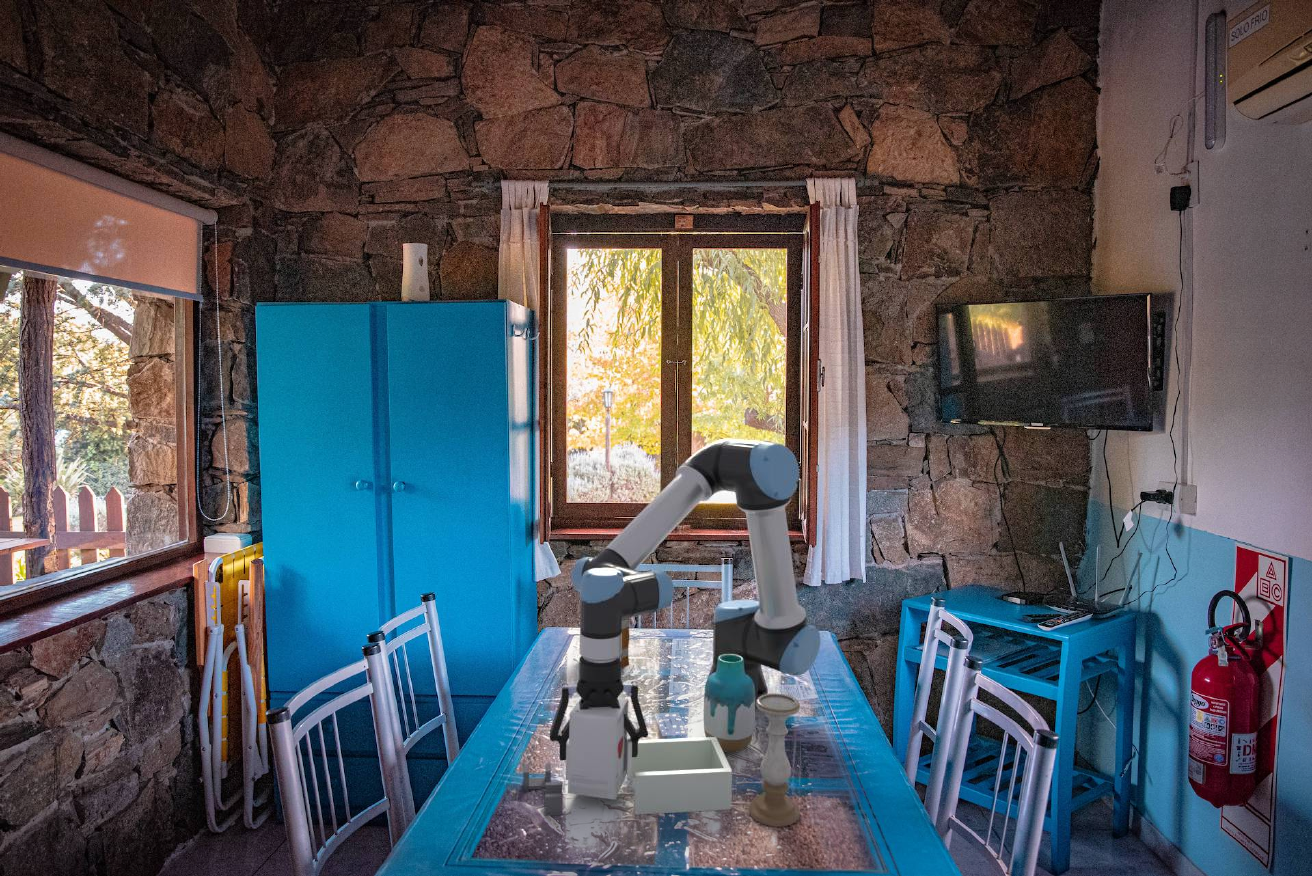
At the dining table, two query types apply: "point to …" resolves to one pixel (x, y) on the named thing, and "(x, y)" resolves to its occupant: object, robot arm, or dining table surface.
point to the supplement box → (597, 750)
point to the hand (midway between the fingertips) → (598, 775)
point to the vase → (730, 704)
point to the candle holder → (775, 765)
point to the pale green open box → (681, 776)
